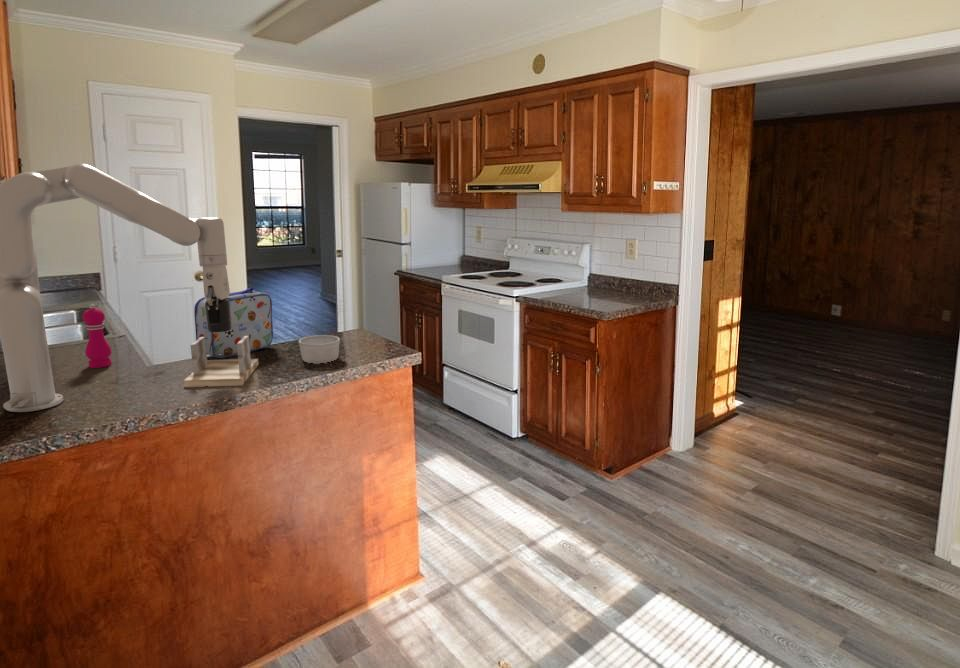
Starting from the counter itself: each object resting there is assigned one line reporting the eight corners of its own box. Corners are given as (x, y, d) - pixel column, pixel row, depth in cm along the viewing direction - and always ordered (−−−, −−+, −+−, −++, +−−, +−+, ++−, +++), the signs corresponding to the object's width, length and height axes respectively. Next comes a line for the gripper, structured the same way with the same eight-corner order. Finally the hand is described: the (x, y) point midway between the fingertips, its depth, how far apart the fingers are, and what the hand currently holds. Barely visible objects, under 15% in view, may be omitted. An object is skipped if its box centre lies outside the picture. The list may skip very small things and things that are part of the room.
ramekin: (343, 362, 208) (342, 342, 207) (302, 367, 203) (300, 345, 202) (337, 353, 220) (336, 333, 219) (297, 357, 215) (296, 336, 214)
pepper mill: (89, 369, 199) (80, 306, 195) (85, 365, 205) (76, 303, 200) (115, 365, 204) (107, 304, 199) (110, 361, 209) (102, 301, 205)
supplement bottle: (237, 329, 192) (233, 289, 189) (217, 333, 186) (213, 293, 184) (221, 326, 195) (218, 288, 193) (202, 331, 190) (198, 291, 187)
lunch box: (260, 342, 235) (256, 283, 230) (280, 346, 230) (276, 285, 225) (194, 359, 212) (187, 293, 207) (214, 363, 207) (208, 296, 202)
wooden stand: (242, 385, 184) (239, 348, 182) (184, 387, 182) (180, 350, 180) (258, 364, 206) (256, 331, 203) (206, 366, 204) (203, 332, 201)
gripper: (218, 263, 178) (224, 326, 182) (233, 257, 195) (238, 314, 199) (190, 264, 177) (196, 326, 181) (208, 257, 194) (213, 314, 198)
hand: (218, 319), depth 190 cm, fingers closed on supplement bottle, 6 cm apart
